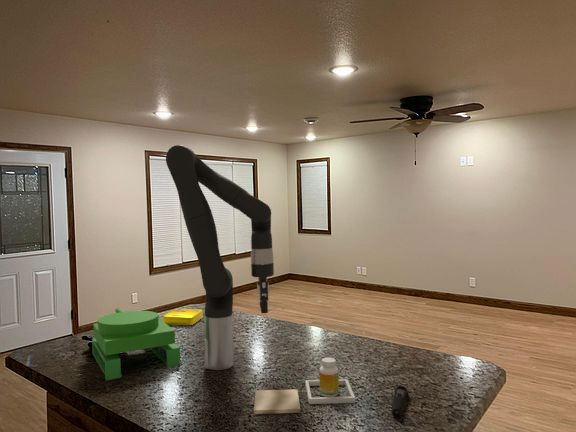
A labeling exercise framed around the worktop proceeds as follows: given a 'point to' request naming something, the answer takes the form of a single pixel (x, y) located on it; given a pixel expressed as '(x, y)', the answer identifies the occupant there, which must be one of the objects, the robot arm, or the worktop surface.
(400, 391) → the electric trimmer
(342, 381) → the square frame
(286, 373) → the worktop surface
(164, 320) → the element tile
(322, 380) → the supplement bottle
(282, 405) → the pad
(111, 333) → the tank
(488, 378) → the worktop surface
